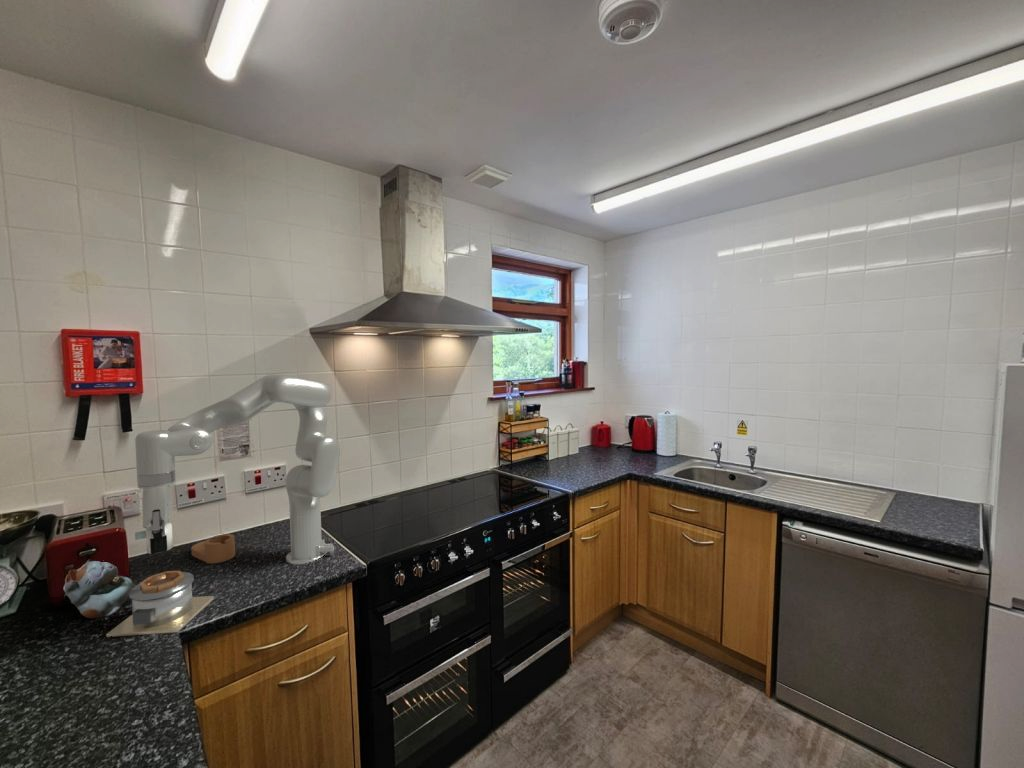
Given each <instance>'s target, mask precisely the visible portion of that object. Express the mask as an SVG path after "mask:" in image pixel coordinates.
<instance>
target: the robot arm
mask: <svg viewBox="0 0 1024 768" xmlns="http://www.w3.org/2000/svg"><path fill="white" fill-rule="evenodd" d="M331 398H332V391H331V389H330V387H329V386H328V385H326V383H323V382H319V381H316V380H311V379H304V378H301V377H297V376H296V377H295V376H291V375H287V374H286V375H285V374H268V375H264V376H262V377H261V378H259V379H257V380H255V381H253V382H252V383H251V384H249V385H247V386H246V387H244V388H242V389H241V390H239V391H237V392H235V393H234V394H232V395H230V396H229V397H227V398H224V399H222V400H220V401H217V402H215V403H213V404H211V405H209V406H205V407H204V408H201V409H199V410H197V411H195V412H193V413H192V414H189V415H188V416H186V417H185V418H183V419H181V420H179V421H178V422H177V421H176V422H175V423H174V424H172V425H171V426H169V427H168V429H167V430H165V429H164V430H162V429H161V430H160V429H159V430H158V429H157V430H147V431H143V432H139V433H138V434H137V435H136V436H135V438H134V444H135V462H136V481H137V482H136V483H137V488H138V489H141V490H142V528H143V529H146V528H147V527H149V526H151V527H150V528H151V538H150V548H151V555H155V554H160V552H161V553H165V552H167V551H168V550H167V535H165V524H167V523H169V520H170V514H171V485H173V484H175V483H176V481H177V480H176V464H175V463H176V462H175V460H176V459H175V457H184V456H186V457H187V456H189V457H190V456H197V455H201V454H203V453H205V452H207V451H209V449H210V448H211V446H212V444H213V436H212V434H211V433H213V432H214V431H215V432H216V431H217V430H221V429H222V428H227V427H230V426H236V425H240V424H243V423H245V422H249V420H252V419H253V418H254V417H255V416H257V415H258V414H260V413H261V412H263V411H265V410H266V409H267V408H269V407H271V406H273V404H275V403H284V404H291V405H292V406H293V407H294V408H295V409H296V411H297V412H298V415H299V426H298V431H297V436H296V437H297V438H296V445H295V451H294V452H295V456H296V457H297V458H299V460H302V461H304V462H309V463H311V465H309V464H299V465H296V466H294V467H292V468H291V469H289V471H288V472H287V474H286V476H285V487H286V488H285V489H286V492H287V496H288V504H289V527H290V529H289V530H290V551H289V552H288V553H287V554H286V556H285V561H286V562H287V563H288V564H291V565H306V564H305V563H307V564H310V563H309V562H311V563H314V562H316V561H315V560H317V561H319V560H320V559H319V558H321V557H323V556H324V555H325V554H326V553H327V554H328V552H329V553H330V552H334V551H335V546H334V543H326V541H325V539H322V515H321V514H322V513H321V510H322V509H321V508H322V507H321V506H322V505H321V504H322V503H321V499H320V498H325V497H327V496H328V495H329V494H330V493H331V492H332V491H333V489H334V488H335V485H336V480H337V474H338V468H339V463H340V454H341V447H340V444H339V442H338V440H337V439H336V438H335V437H333V436H331V435H328V434H326V433H327V432H326V431H327V421H328V417H327V412H326V409H325V406H327V405H328V404H329V403H330V401H331V400H332V399H331ZM160 522H163V524H160ZM160 527H162V529H161V528H160ZM327 554H326V555H327ZM326 555H325V556H326ZM325 556H324V557H325ZM324 557H323V558H324ZM318 559H319V560H318ZM321 559H322V558H321ZM313 561H314V562H313Z"/></svg>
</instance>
